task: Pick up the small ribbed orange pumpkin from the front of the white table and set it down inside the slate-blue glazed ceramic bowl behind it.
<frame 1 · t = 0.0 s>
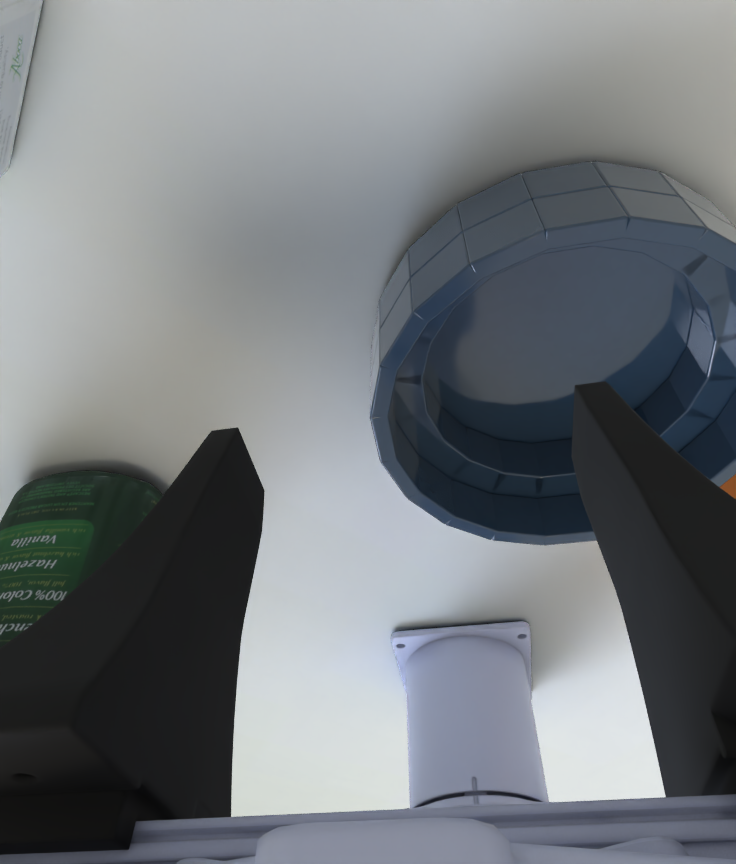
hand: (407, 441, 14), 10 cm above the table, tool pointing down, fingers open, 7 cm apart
bowl: (550, 338, 24), on the table
coffee jar: (118, 526, 32), on the table
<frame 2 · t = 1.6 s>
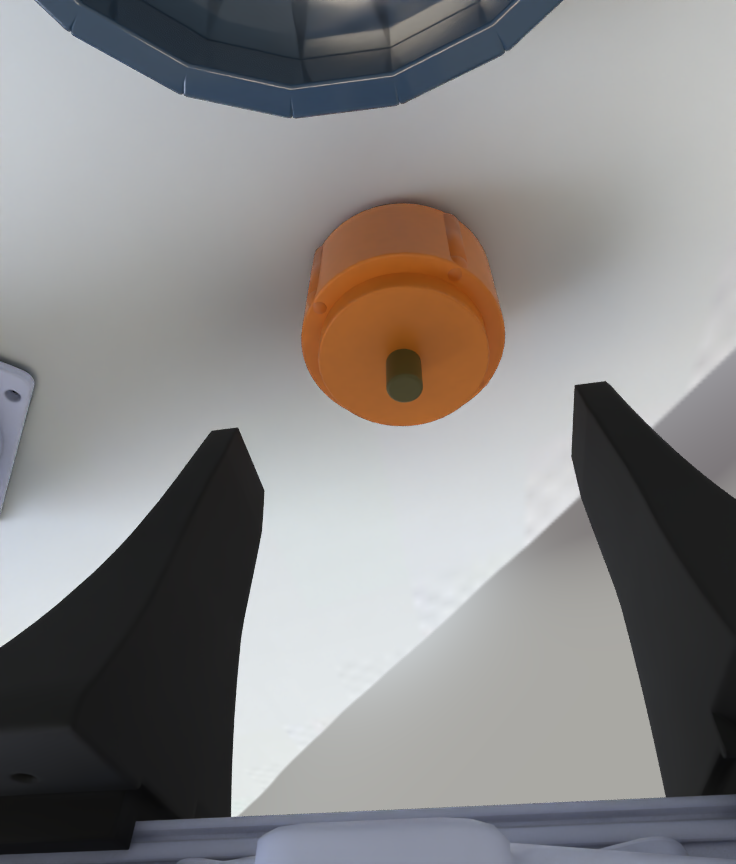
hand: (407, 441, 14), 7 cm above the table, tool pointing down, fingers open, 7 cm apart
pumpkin: (399, 281, 20), on the table
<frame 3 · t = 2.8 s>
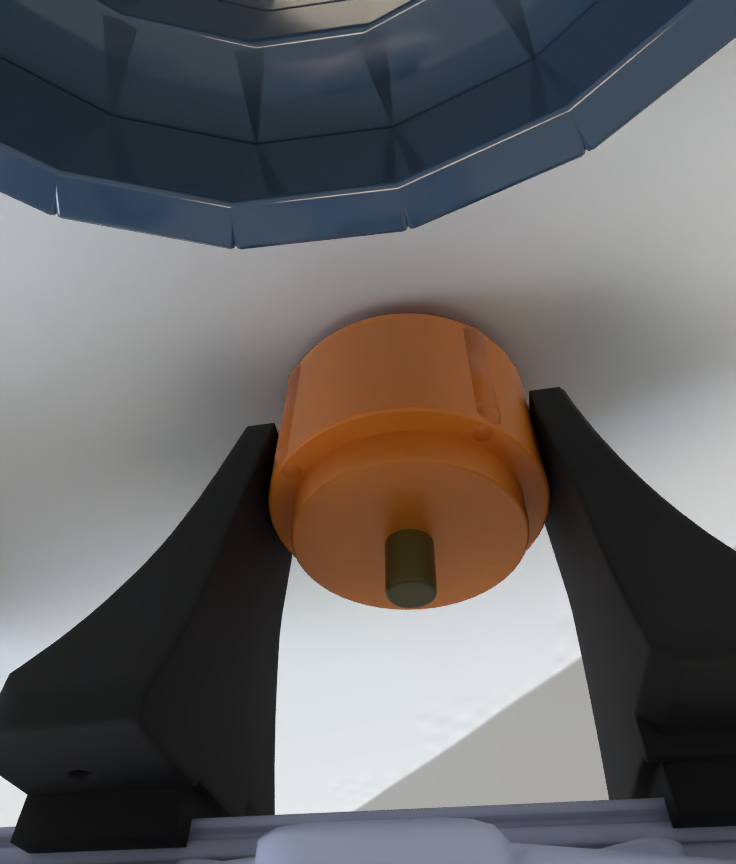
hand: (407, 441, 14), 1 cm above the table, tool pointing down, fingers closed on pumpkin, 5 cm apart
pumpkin: (403, 400, 15), on the table, touching gripper
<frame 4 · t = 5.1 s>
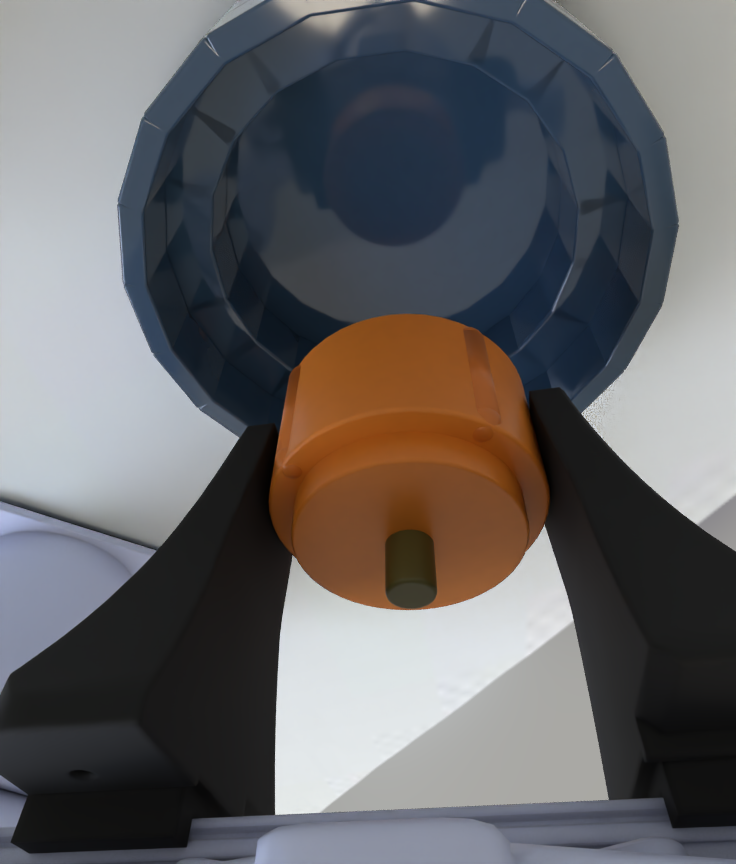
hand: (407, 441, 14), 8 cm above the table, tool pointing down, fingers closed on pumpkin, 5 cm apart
bowl: (391, 217, 19), on the table
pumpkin: (403, 400, 15), point 7 cm above the table, touching gripper
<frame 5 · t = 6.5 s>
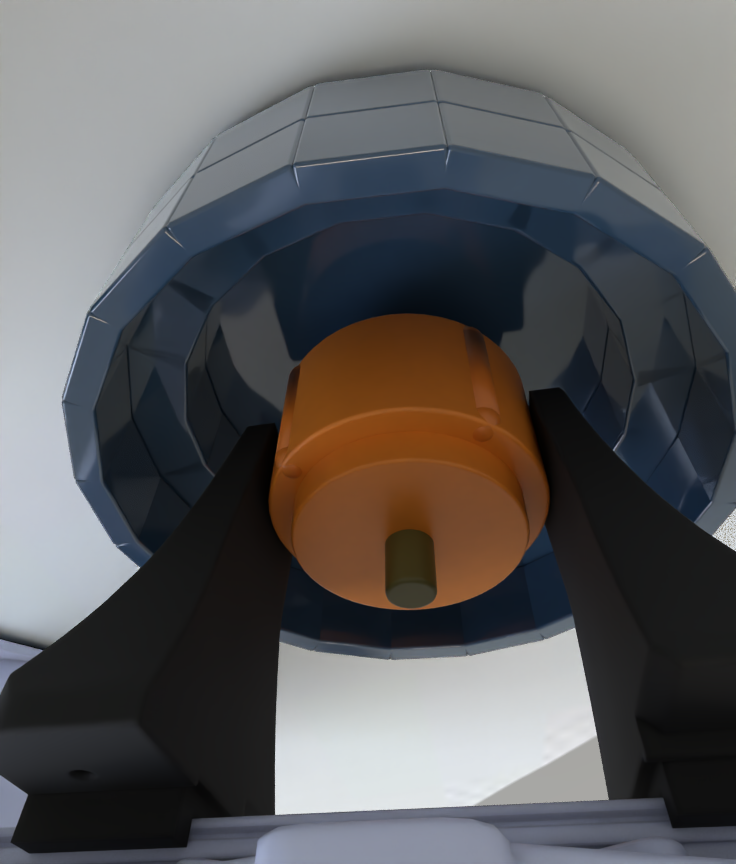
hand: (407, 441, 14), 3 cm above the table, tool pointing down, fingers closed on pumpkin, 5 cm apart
bowl: (403, 360, 16), on the table
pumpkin: (403, 400, 15), point 2 cm above the table, touching gripper
when the fingers open (2 cm above the table, at t = 7.4 s): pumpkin stays where it is, resting on bowl.
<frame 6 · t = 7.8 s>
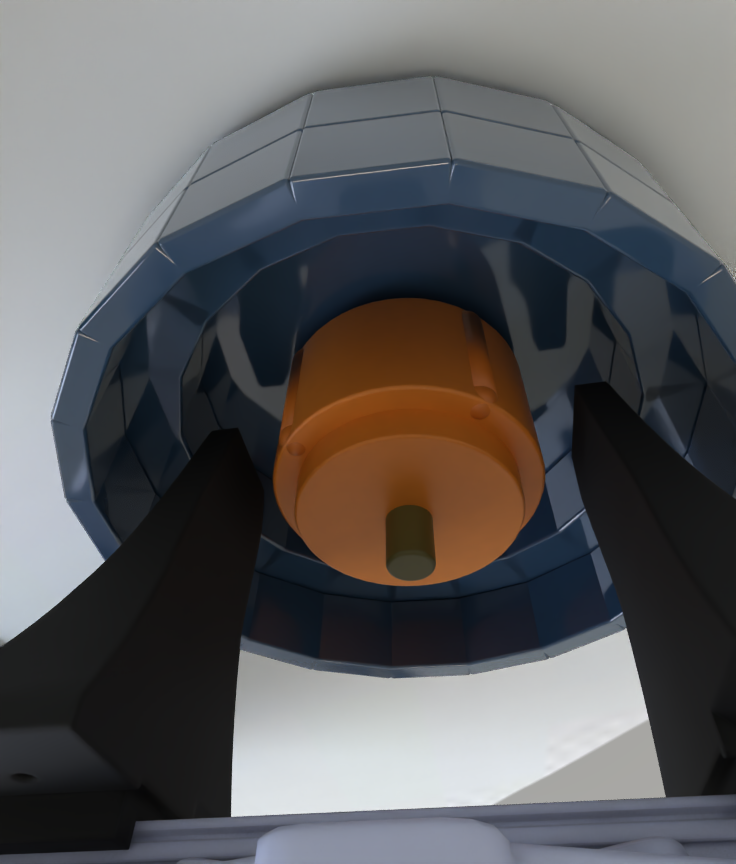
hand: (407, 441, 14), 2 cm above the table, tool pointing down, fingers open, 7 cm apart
bowl: (404, 372, 16), on the table
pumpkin: (403, 385, 15), resting on bowl
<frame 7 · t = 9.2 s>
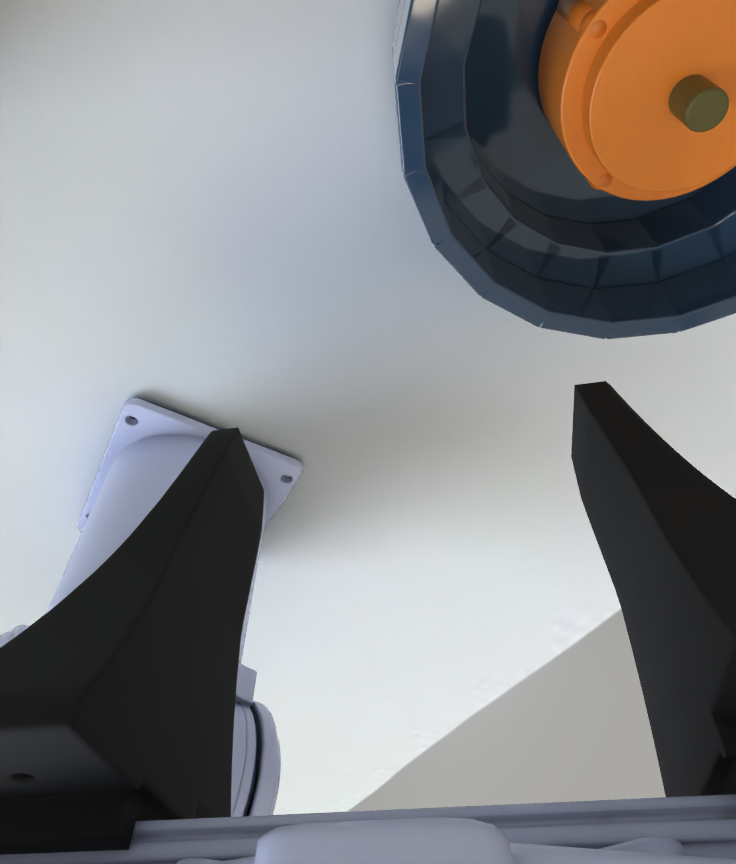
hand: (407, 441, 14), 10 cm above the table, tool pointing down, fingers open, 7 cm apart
bowl: (630, 49, 18), on the table
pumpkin: (634, 53, 18), resting on bowl
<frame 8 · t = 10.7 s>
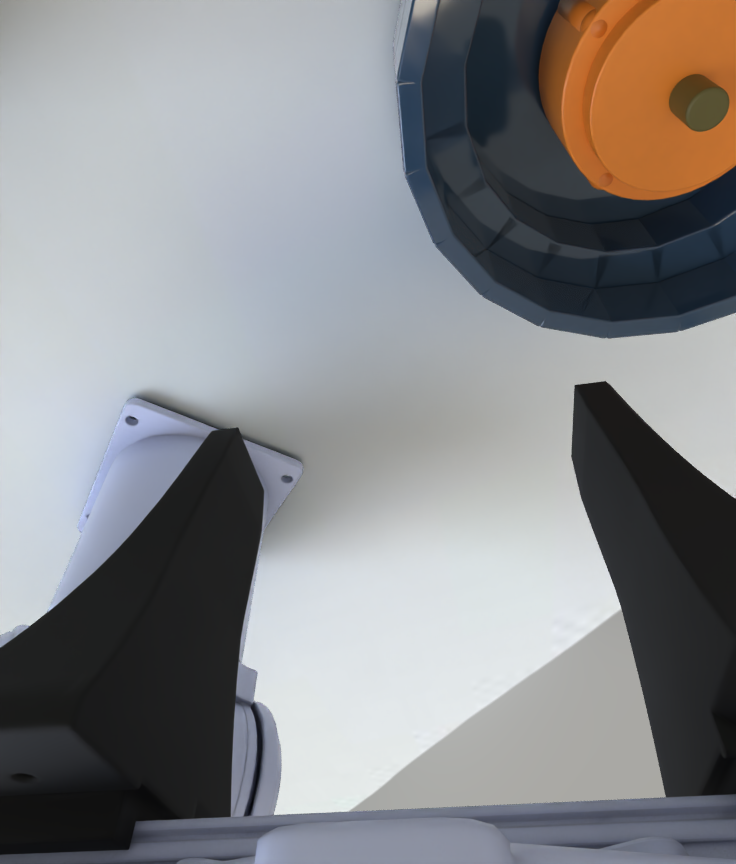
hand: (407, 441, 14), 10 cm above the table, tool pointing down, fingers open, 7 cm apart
bowl: (630, 49, 18), on the table
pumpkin: (634, 53, 18), resting on bowl
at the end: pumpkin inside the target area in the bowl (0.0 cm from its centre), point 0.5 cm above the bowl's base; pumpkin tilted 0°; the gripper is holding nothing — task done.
